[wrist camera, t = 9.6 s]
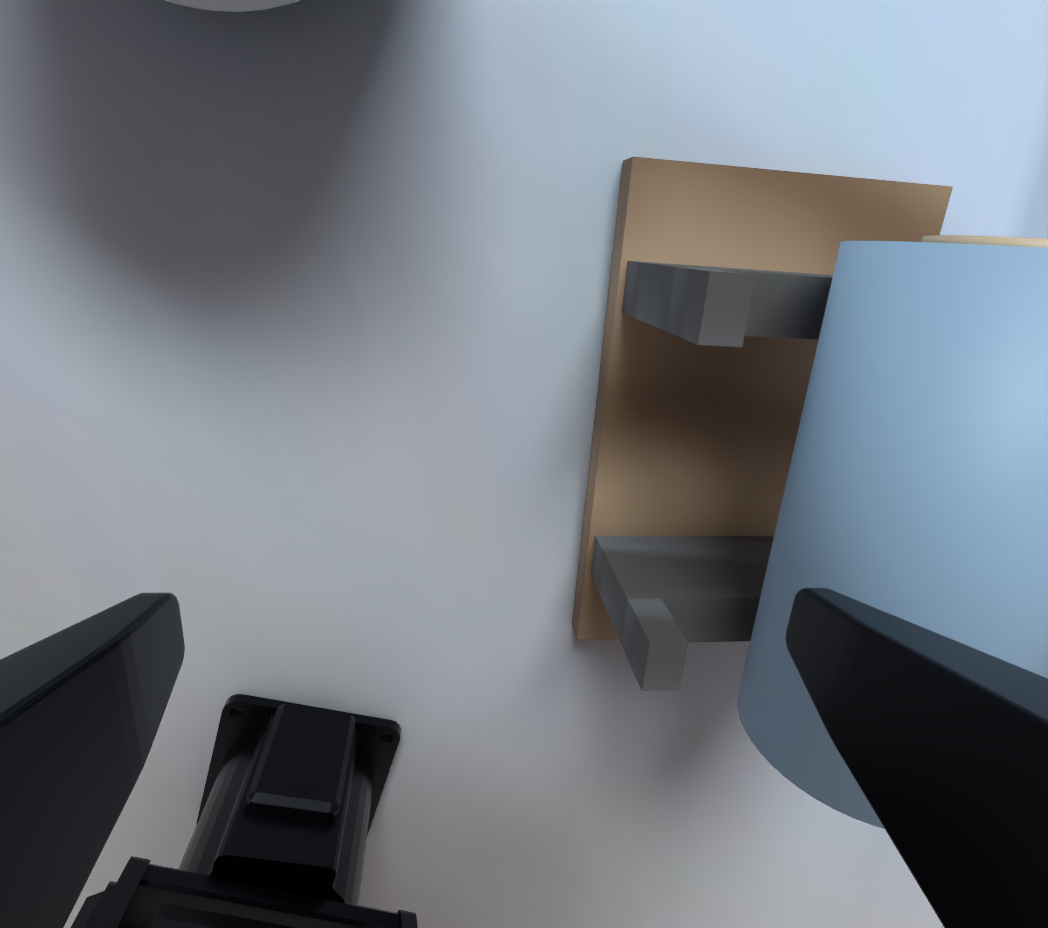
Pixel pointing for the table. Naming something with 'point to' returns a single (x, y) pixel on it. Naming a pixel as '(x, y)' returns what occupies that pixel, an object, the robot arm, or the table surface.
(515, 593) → the table surface
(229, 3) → the teacup
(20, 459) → the table surface
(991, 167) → the table surface
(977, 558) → the roll
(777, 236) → the holder
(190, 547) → the table surface
